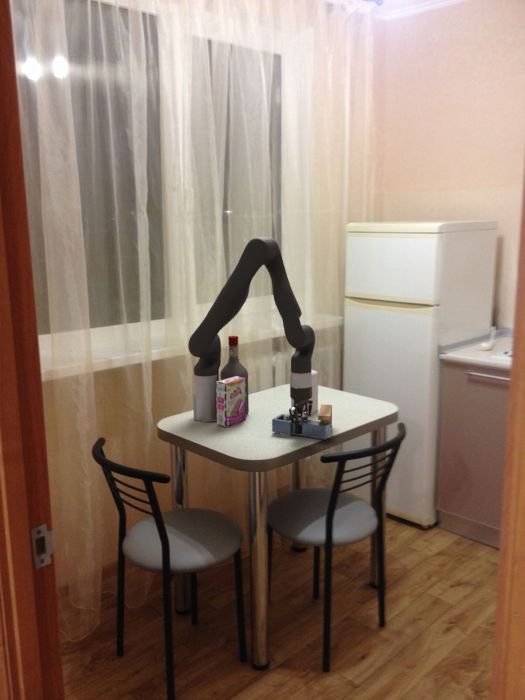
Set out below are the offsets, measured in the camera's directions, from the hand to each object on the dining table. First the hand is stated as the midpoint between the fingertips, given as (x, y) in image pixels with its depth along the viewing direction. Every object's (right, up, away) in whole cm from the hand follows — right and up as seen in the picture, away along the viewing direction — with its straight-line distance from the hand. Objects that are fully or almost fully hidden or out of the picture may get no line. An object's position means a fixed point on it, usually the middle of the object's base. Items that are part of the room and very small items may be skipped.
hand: (301, 432), depth 221 cm
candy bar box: (-25, +2, +14) cm, 28 cm away
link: (0, 0, 0) cm, 0 cm away
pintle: (-5, 0, +3) cm, 6 cm away
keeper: (+8, 0, +2) cm, 9 cm away
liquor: (-24, +4, +25) cm, 35 cm away
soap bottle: (+3, +5, +28) cm, 28 cm away
